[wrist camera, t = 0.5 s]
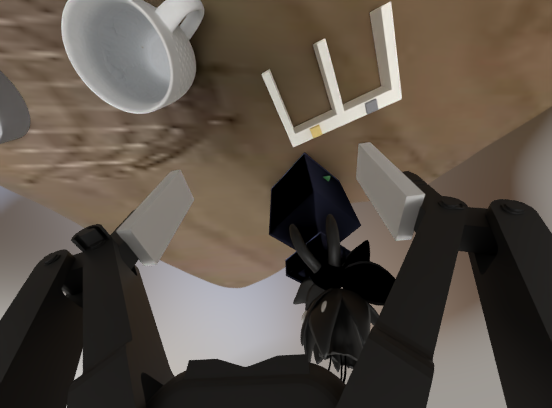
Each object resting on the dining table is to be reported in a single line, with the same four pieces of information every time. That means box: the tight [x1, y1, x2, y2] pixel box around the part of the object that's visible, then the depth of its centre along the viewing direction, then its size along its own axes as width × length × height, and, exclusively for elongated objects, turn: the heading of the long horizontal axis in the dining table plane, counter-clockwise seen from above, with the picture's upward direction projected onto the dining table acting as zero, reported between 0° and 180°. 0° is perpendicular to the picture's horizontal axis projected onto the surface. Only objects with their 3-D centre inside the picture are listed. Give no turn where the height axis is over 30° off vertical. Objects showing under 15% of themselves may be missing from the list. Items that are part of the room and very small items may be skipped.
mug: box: [61, 0, 204, 114], centre depth 27 cm, size 15×11×13 cm
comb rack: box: [261, 2, 402, 147], centre depth 32 cm, size 12×18×5 cm, turn 115°
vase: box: [269, 153, 395, 383], centre depth 30 cm, size 14×12×35 cm
